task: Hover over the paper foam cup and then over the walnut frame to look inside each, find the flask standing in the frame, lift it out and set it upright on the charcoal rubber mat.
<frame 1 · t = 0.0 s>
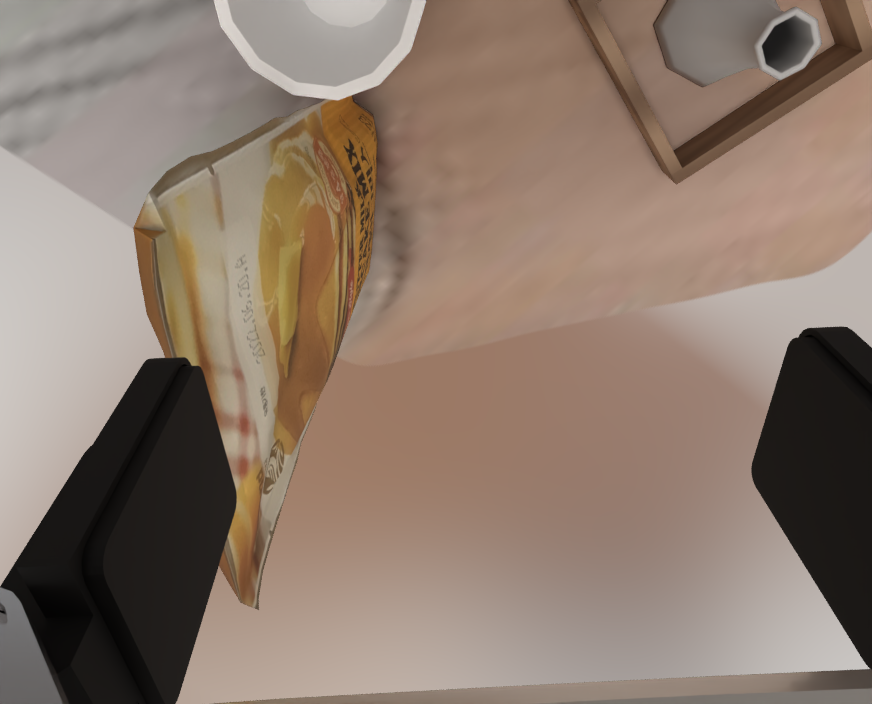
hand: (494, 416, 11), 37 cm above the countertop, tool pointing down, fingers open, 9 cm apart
flask: (711, 22, 42), on the countertop
walnut frame: (712, 22, 41), on the countertop
pancake mix bag: (329, 195, 47), on the countertop
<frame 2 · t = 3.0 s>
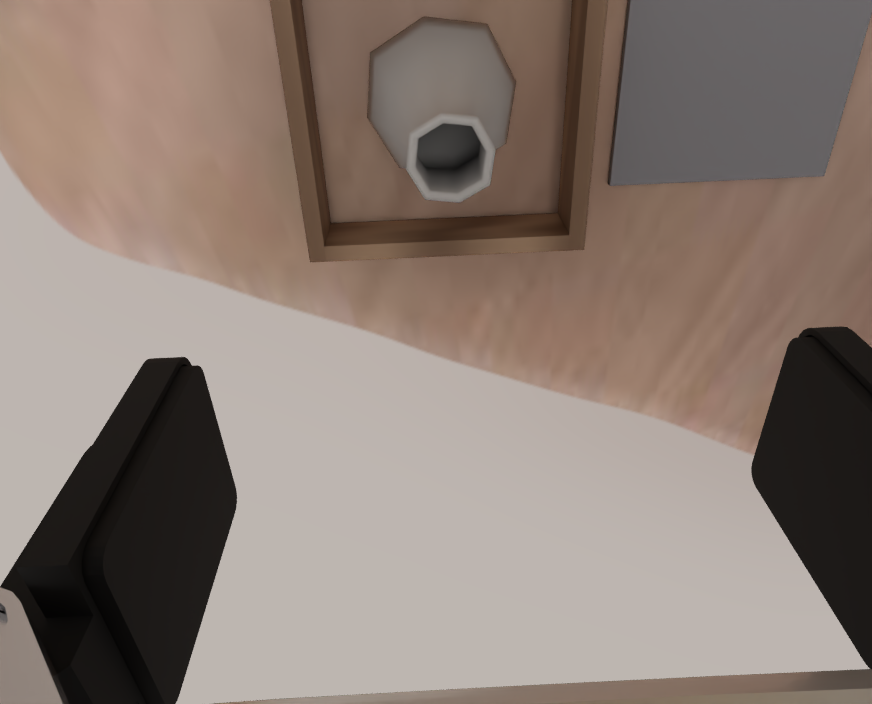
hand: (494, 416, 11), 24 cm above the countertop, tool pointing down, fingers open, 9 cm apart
charcoal mat: (737, 63, 31), on the countertop
flask: (440, 97, 31), on the countertop
walnut frame: (440, 98, 31), on the countertop
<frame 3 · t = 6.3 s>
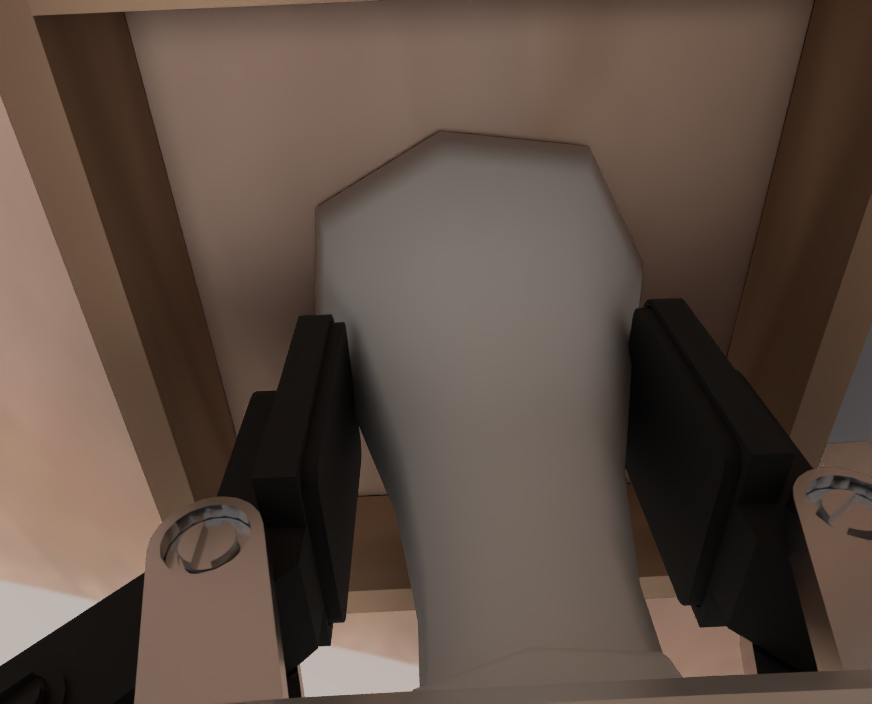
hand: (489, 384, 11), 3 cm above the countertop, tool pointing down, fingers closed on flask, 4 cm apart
flask: (473, 287, 14), on the countertop, touching gripper
walnut frame: (474, 294, 14), on the countertop
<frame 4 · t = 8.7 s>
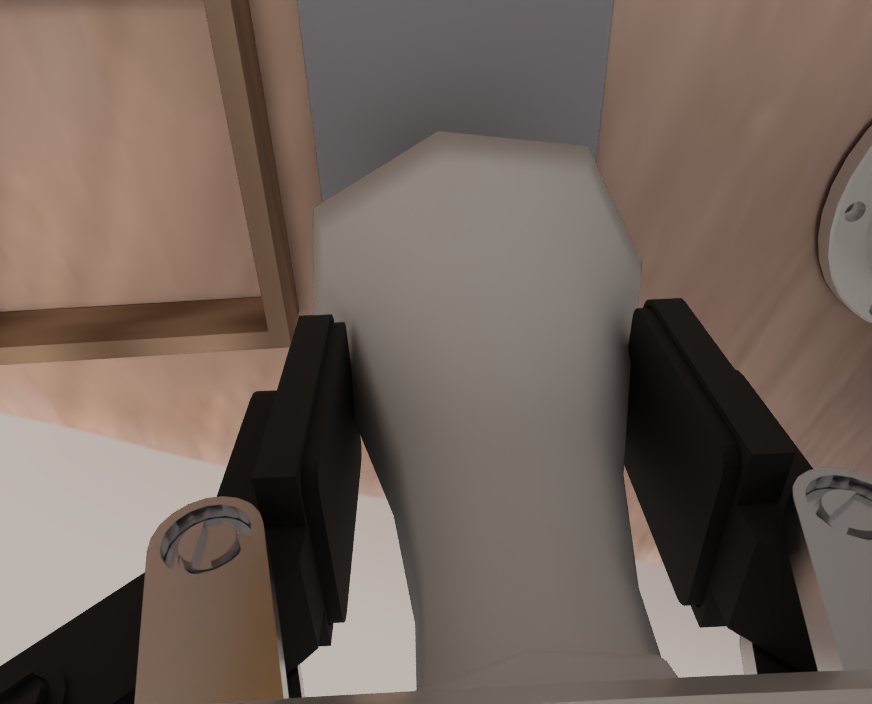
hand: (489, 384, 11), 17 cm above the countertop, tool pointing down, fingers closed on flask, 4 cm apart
charcoal mat: (457, 124, 25), on the countertop
flask: (471, 288, 14), point 13 cm above the countertop, touching gripper
walnut frame: (95, 167, 25), on the countertop
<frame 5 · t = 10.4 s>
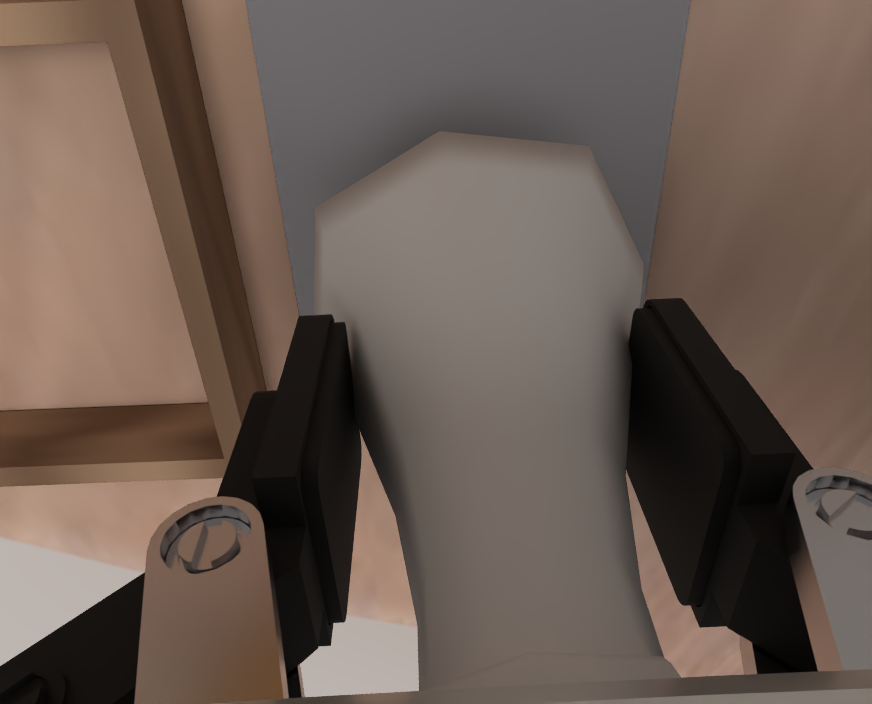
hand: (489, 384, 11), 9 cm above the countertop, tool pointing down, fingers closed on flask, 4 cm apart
charcoal mat: (469, 201, 19), on the countertop
flask: (473, 288, 14), point 6 cm above the countertop, touching gripper
walnut frame: (11, 252, 20), on the countertop
when the fingers open (5 cm above the countertop, at t = 11.6 s): flask drops 1 cm, resting on charcoal mat.
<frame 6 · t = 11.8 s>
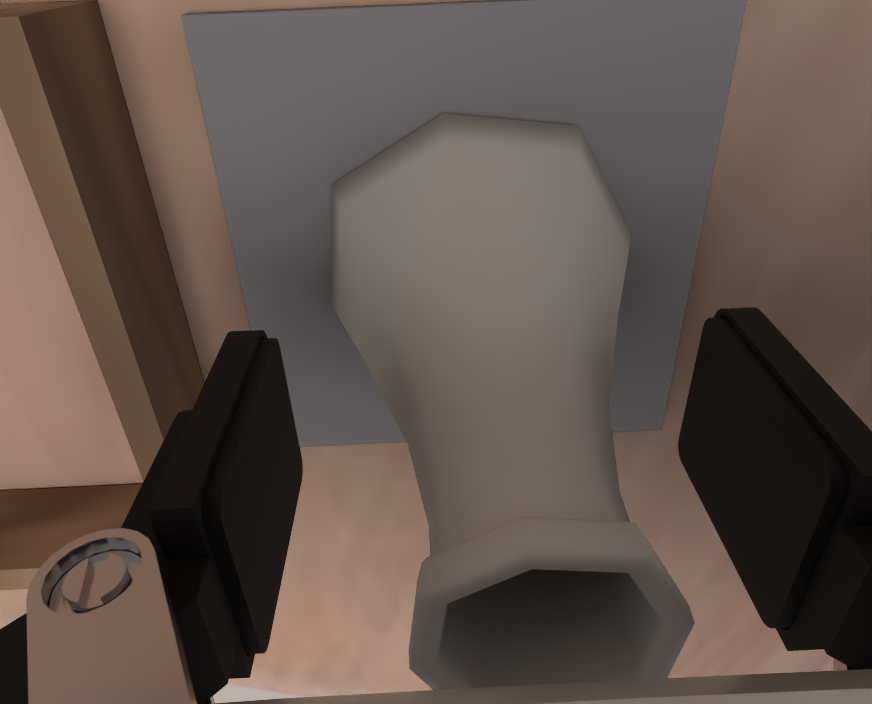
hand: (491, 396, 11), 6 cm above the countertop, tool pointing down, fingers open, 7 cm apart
charcoal mat: (466, 255, 16), on the countertop
flask: (475, 259, 16), resting on charcoal mat
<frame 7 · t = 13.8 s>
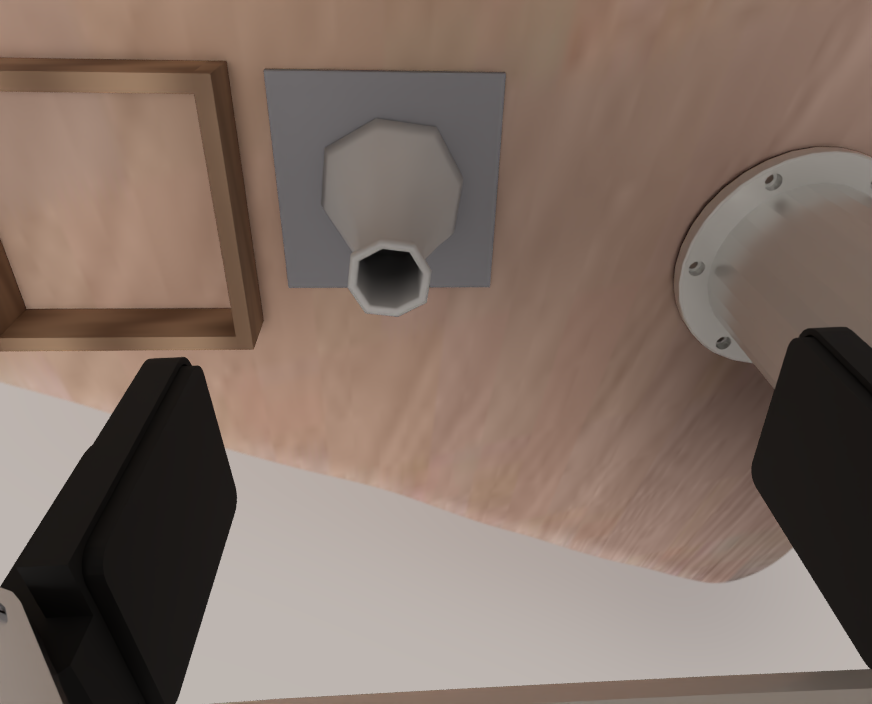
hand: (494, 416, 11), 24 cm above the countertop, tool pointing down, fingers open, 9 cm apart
charcoal mat: (388, 187, 33), on the countertop
flask: (391, 188, 33), resting on charcoal mat
walnut frame: (110, 204, 33), on the countertop
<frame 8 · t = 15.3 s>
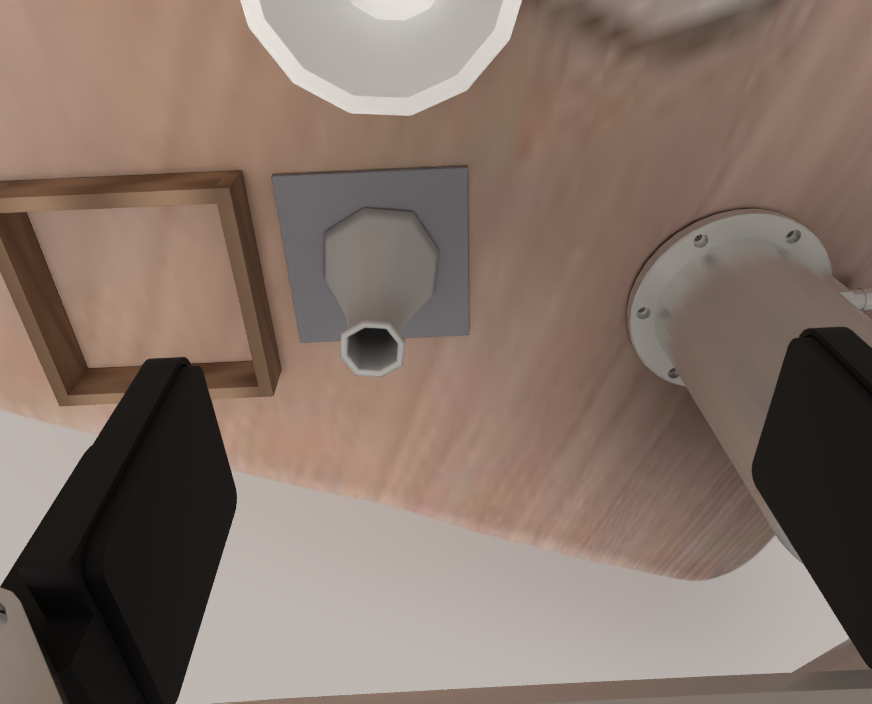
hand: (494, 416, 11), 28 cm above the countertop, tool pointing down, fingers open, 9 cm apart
charcoal mat: (378, 259, 40), on the countertop
flask: (381, 260, 40), resting on charcoal mat
walnut frame: (153, 284, 40), on the countertop
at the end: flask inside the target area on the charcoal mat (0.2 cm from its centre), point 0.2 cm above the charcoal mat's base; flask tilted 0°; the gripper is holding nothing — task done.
